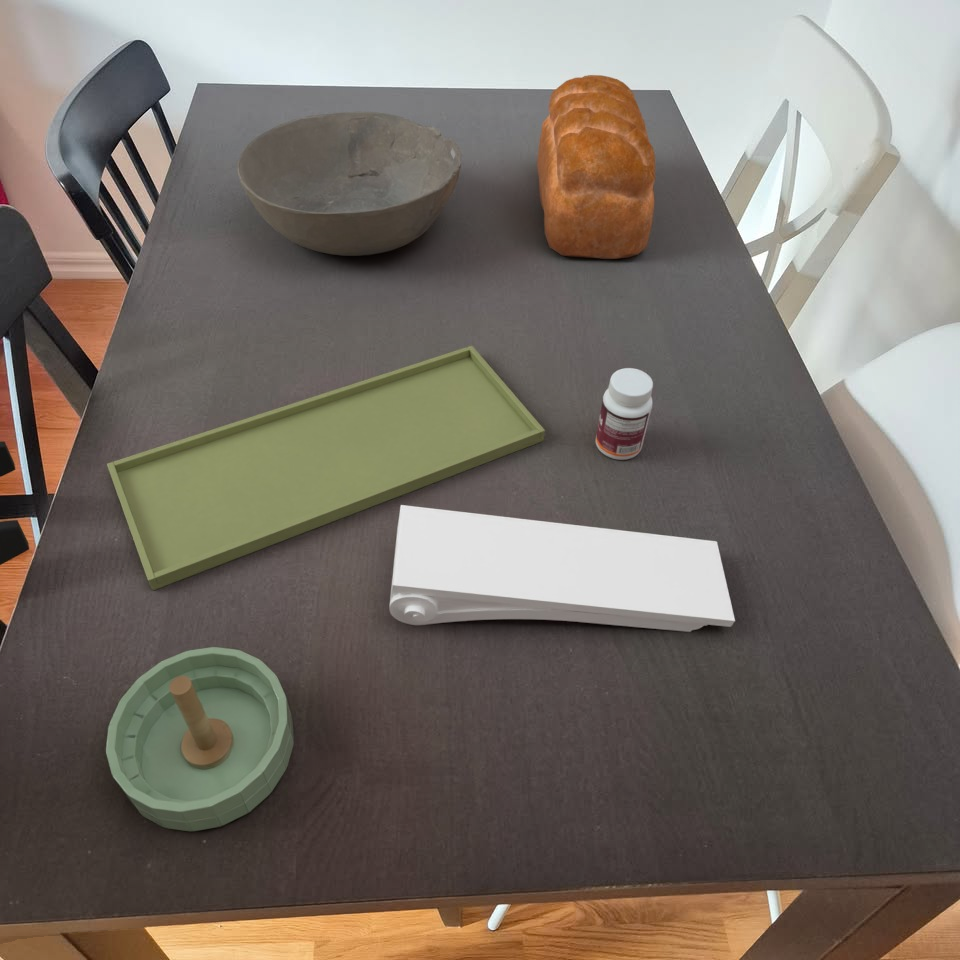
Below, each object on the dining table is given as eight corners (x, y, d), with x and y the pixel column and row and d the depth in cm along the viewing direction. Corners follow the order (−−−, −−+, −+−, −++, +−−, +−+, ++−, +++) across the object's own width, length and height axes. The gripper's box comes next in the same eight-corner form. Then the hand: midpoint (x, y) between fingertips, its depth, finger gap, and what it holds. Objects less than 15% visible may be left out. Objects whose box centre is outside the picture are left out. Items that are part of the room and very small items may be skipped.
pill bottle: (604, 422, 86) (616, 359, 80) (648, 437, 85) (664, 374, 79) (587, 451, 83) (598, 387, 77) (632, 467, 82) (647, 404, 76)
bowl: (491, 260, 106) (495, 187, 99) (276, 303, 98) (263, 227, 91) (419, 162, 123) (417, 93, 116) (231, 192, 115) (216, 121, 108)
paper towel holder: (191, 778, 59) (159, 719, 53) (177, 736, 61) (145, 675, 55) (240, 755, 61) (215, 695, 54) (225, 714, 63) (199, 652, 56)
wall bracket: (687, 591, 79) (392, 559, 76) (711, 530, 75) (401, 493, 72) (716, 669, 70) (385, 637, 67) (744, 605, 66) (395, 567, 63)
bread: (543, 261, 106) (555, 143, 95) (533, 162, 124) (542, 53, 113) (652, 264, 107) (676, 146, 95) (626, 164, 125) (644, 56, 113)
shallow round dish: (147, 866, 56) (130, 845, 53) (105, 716, 63) (89, 690, 60) (319, 781, 60) (312, 757, 57) (262, 650, 67) (253, 622, 64)
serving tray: (152, 591, 70) (147, 580, 69) (111, 474, 79) (106, 463, 78) (544, 440, 84) (545, 430, 83) (471, 355, 93) (472, 345, 92)
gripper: (-307, 614, 40) (6, 528, 44) (-274, 431, 49) (-17, 376, 53) (-228, 694, 44) (46, 608, 49) (-212, 514, 53) (19, 457, 58)
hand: (16, 493), depth 52 cm, fingers open, 7 cm apart
